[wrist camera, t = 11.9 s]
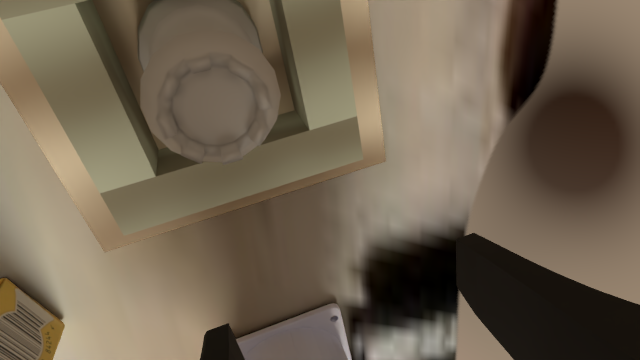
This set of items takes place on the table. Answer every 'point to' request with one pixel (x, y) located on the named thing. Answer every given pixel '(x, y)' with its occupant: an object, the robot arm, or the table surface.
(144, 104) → the rook chess piece
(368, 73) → the socket stand
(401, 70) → the table surface
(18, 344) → the candy box
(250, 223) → the table surface
